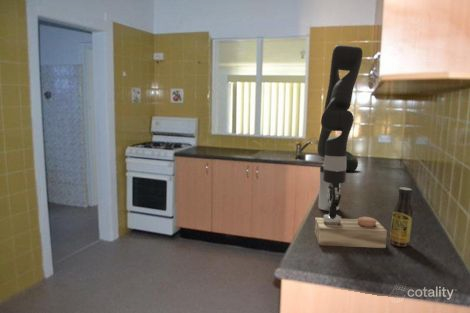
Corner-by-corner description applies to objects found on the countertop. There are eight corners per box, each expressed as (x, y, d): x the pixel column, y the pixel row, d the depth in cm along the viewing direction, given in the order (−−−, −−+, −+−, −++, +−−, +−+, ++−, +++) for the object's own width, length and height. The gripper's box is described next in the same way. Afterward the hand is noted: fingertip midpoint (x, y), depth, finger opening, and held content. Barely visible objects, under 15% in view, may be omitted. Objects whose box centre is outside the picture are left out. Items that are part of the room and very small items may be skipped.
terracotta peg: (354, 237, 134) (356, 216, 133) (371, 238, 134) (373, 217, 133) (359, 243, 128) (360, 221, 127) (376, 244, 128) (378, 222, 127)
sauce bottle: (386, 244, 128) (390, 188, 126) (393, 239, 133) (398, 185, 130) (405, 249, 124) (410, 191, 121) (412, 244, 128) (417, 188, 125)
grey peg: (321, 234, 135) (322, 213, 134) (338, 235, 135) (339, 214, 134) (323, 240, 129) (325, 218, 128) (341, 241, 129) (342, 219, 128)
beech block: (314, 233, 138) (315, 217, 137) (375, 235, 137) (376, 219, 136) (319, 245, 126) (320, 228, 126) (385, 247, 125) (386, 230, 124)
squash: (350, 166, 261) (356, 149, 267) (331, 164, 271) (337, 148, 277) (356, 177, 270) (362, 160, 276) (337, 175, 280) (344, 159, 286)
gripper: (320, 165, 135) (318, 211, 138) (327, 171, 122) (324, 222, 125) (341, 165, 135) (339, 211, 137) (350, 171, 122) (347, 222, 124)
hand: (332, 216), depth 131 cm, fingers closed
